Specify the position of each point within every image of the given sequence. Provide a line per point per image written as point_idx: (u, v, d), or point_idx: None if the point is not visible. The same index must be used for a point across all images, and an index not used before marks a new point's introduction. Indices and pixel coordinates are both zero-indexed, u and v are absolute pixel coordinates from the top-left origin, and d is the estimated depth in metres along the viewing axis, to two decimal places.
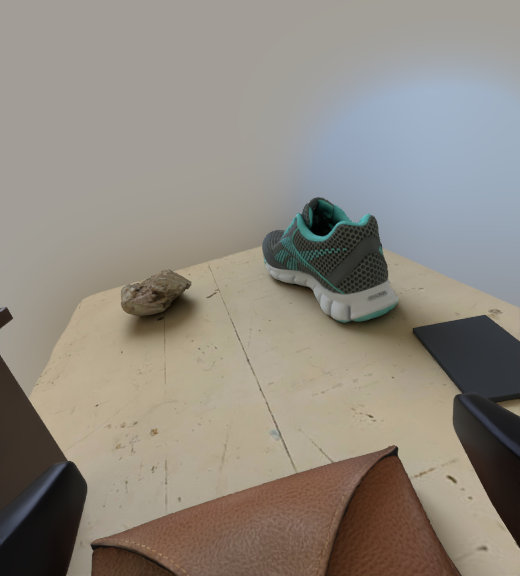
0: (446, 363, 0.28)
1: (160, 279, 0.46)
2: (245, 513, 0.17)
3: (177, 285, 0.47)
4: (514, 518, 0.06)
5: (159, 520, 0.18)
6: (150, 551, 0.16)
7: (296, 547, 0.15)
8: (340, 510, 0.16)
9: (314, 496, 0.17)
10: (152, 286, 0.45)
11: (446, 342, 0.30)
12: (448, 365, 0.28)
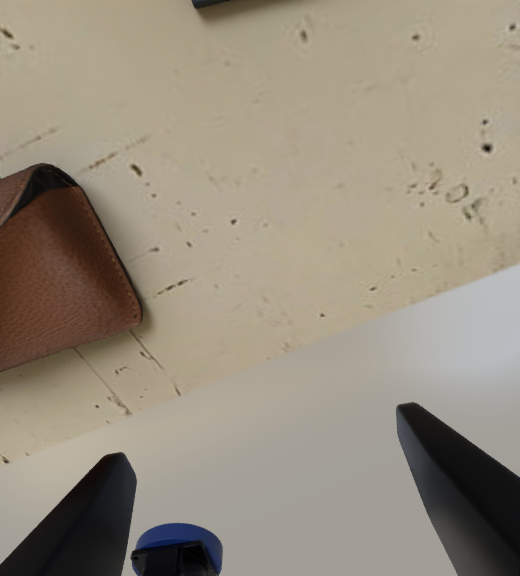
0: None
1: None
2: None
3: None
4: (443, 529, 0.06)
5: None
6: None
7: None
8: None
9: None
10: None
11: None
12: None
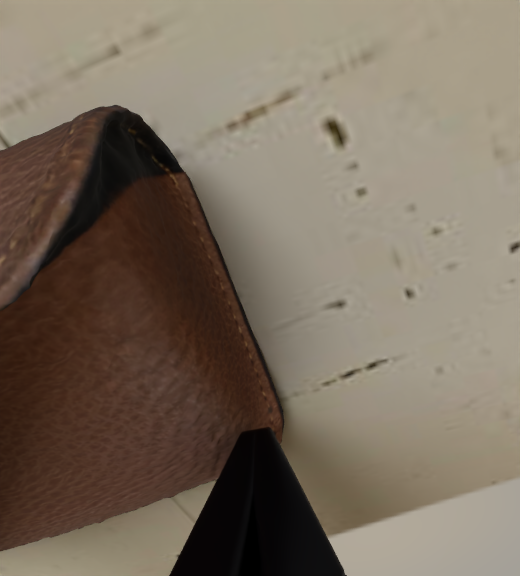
0: None
1: None
2: None
3: None
4: None
5: None
6: None
7: None
8: None
9: None
10: None
11: None
12: None
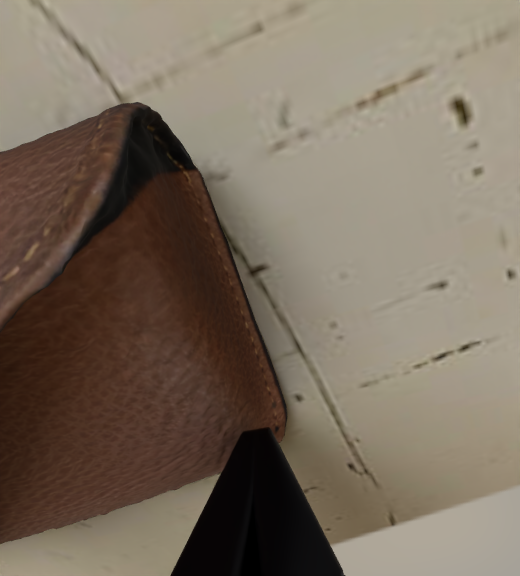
0: None
1: None
2: None
3: None
4: None
5: None
6: None
7: None
8: None
9: None
10: None
11: None
12: None
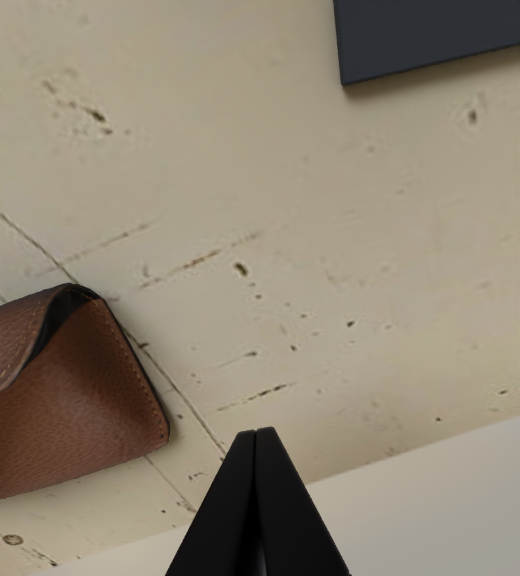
0: None
1: None
2: None
3: None
4: None
5: None
6: None
7: None
8: None
9: None
10: None
11: None
12: None
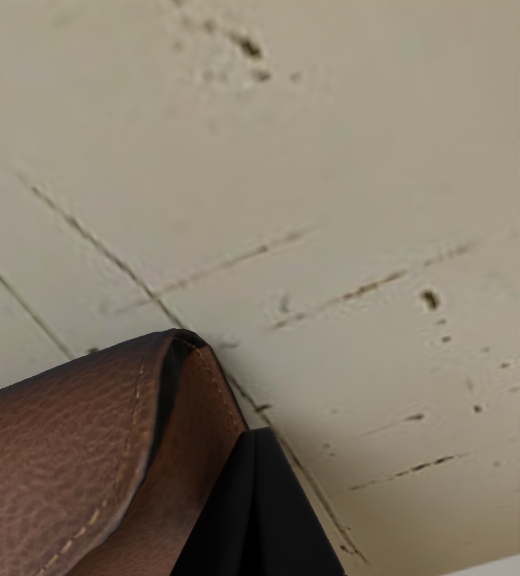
0: None
1: None
2: None
3: None
4: None
5: None
6: None
7: None
8: None
9: None
10: None
11: None
12: None
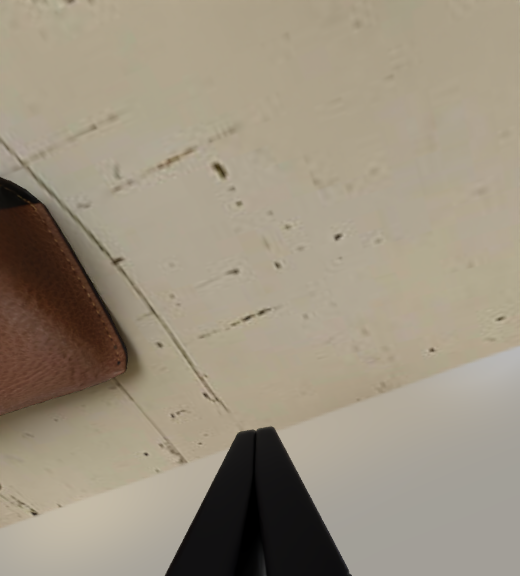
0: None
1: None
2: None
3: None
4: None
5: None
6: None
7: None
8: None
9: None
10: None
11: None
12: None
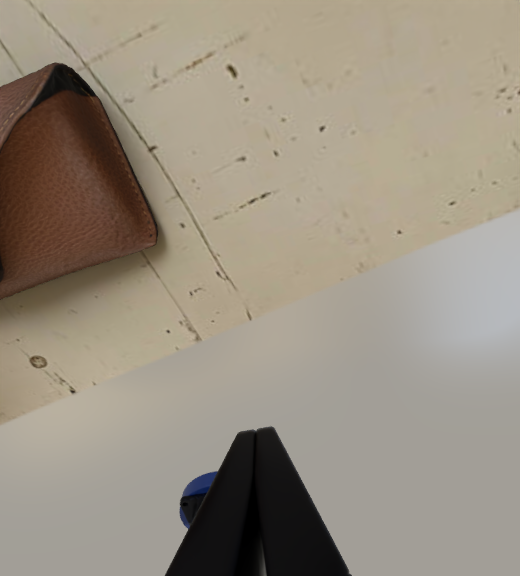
0: None
1: None
2: None
3: None
4: None
5: None
6: None
7: None
8: None
9: None
10: None
11: None
12: None
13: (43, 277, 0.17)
